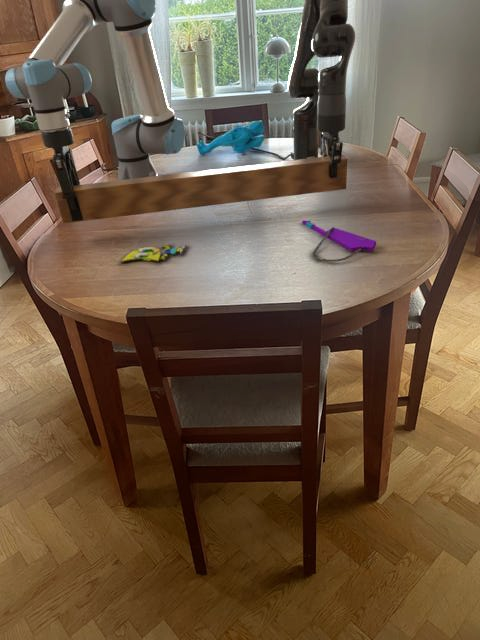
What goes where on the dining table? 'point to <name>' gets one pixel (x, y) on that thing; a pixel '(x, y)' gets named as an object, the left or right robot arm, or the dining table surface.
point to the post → (203, 188)
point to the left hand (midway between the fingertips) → (79, 216)
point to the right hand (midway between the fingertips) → (329, 174)
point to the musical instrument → (342, 240)
